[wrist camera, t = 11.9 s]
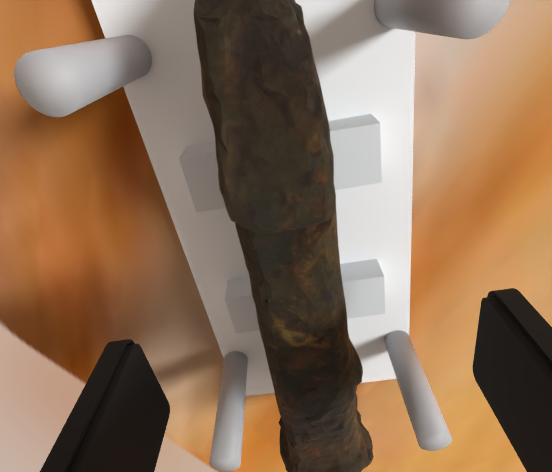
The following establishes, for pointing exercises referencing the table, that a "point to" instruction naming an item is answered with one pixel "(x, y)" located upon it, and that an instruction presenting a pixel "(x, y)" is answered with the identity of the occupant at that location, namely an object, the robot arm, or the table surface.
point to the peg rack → (347, 171)
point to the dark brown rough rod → (285, 220)
